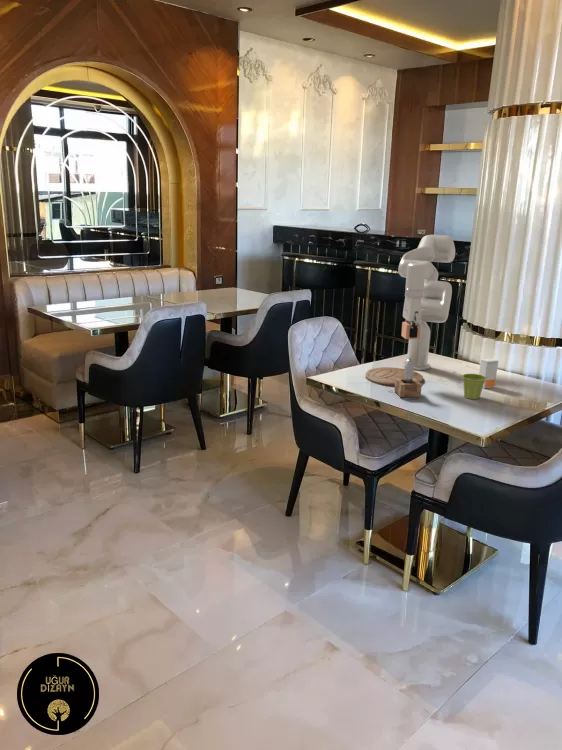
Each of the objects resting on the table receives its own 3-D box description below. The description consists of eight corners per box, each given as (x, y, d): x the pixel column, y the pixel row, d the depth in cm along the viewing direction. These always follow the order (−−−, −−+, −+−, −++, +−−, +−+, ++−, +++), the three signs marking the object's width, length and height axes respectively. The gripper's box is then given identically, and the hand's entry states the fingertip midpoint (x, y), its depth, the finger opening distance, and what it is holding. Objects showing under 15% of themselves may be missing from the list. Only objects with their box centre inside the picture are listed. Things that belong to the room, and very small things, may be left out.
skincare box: (483, 388, 262) (487, 361, 258) (477, 385, 265) (480, 359, 262) (495, 387, 264) (498, 360, 260) (488, 384, 268) (492, 358, 264)
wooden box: (394, 392, 254) (395, 378, 252) (414, 392, 255) (415, 378, 253) (399, 399, 246) (401, 384, 244) (420, 399, 247) (421, 384, 245)
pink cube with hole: (401, 335, 264) (402, 321, 262) (414, 335, 265) (416, 321, 263) (405, 339, 258) (406, 324, 256) (419, 339, 259) (420, 324, 257)
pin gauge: (401, 391, 252) (404, 358, 248) (410, 391, 252) (413, 358, 248) (404, 394, 248) (407, 361, 244) (412, 394, 249) (415, 361, 245)
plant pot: (466, 401, 245) (469, 380, 242) (455, 394, 254) (457, 373, 251) (488, 400, 247) (490, 379, 244) (476, 393, 255) (479, 373, 253)
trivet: (429, 377, 277) (430, 373, 277) (412, 391, 256) (412, 387, 256) (377, 368, 289) (377, 364, 288) (356, 381, 268) (356, 377, 268)
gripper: (399, 289, 264) (396, 330, 269) (412, 297, 247) (408, 340, 253) (416, 289, 264) (412, 330, 270) (430, 297, 248) (425, 340, 254)
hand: (410, 335), depth 261 cm, fingers closed on pink cube with hole, 6 cm apart
